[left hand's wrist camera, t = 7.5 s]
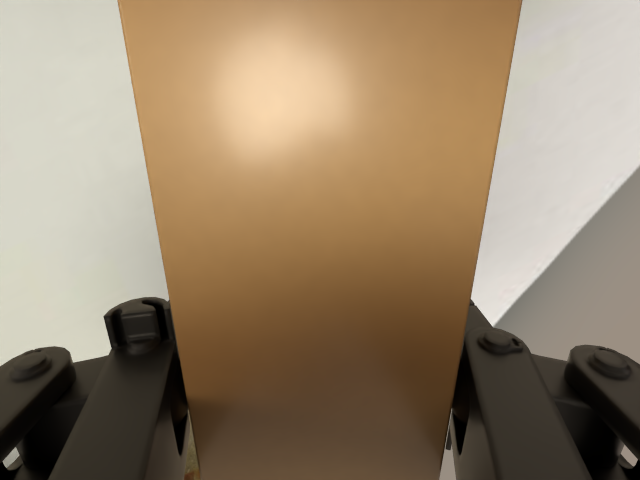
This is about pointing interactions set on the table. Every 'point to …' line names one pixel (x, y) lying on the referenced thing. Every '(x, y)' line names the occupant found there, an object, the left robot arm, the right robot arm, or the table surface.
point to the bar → (319, 219)
